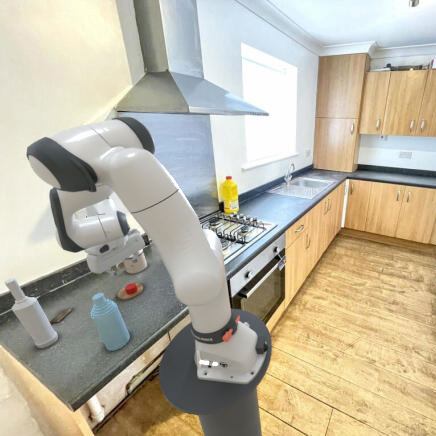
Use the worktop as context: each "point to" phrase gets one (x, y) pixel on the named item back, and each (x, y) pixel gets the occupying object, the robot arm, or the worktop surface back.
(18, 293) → the bottle
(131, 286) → the cap
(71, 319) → the worktop surface
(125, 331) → the water bottle
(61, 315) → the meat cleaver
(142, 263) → the teacup with lid
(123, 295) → the coaster
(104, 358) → the worktop surface
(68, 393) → the worktop surface
